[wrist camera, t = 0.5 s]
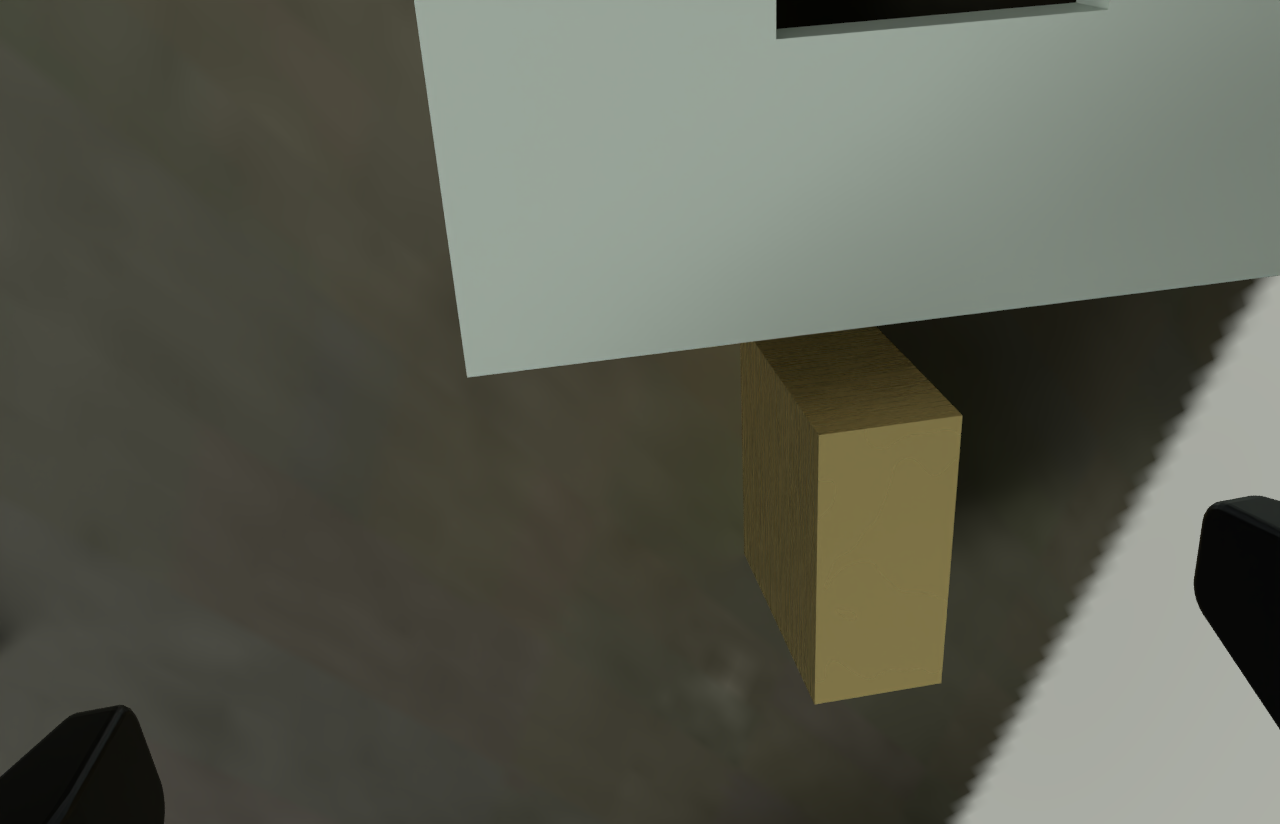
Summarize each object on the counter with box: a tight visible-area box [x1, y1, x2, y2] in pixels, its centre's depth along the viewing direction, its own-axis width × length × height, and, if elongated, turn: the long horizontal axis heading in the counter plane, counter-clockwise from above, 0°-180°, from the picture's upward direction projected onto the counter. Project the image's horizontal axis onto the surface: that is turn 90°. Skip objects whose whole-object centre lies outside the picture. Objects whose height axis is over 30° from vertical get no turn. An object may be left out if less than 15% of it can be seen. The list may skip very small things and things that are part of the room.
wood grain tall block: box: [740, 326, 963, 704], centre depth 21 cm, size 6×2×5 cm, turn 3°
